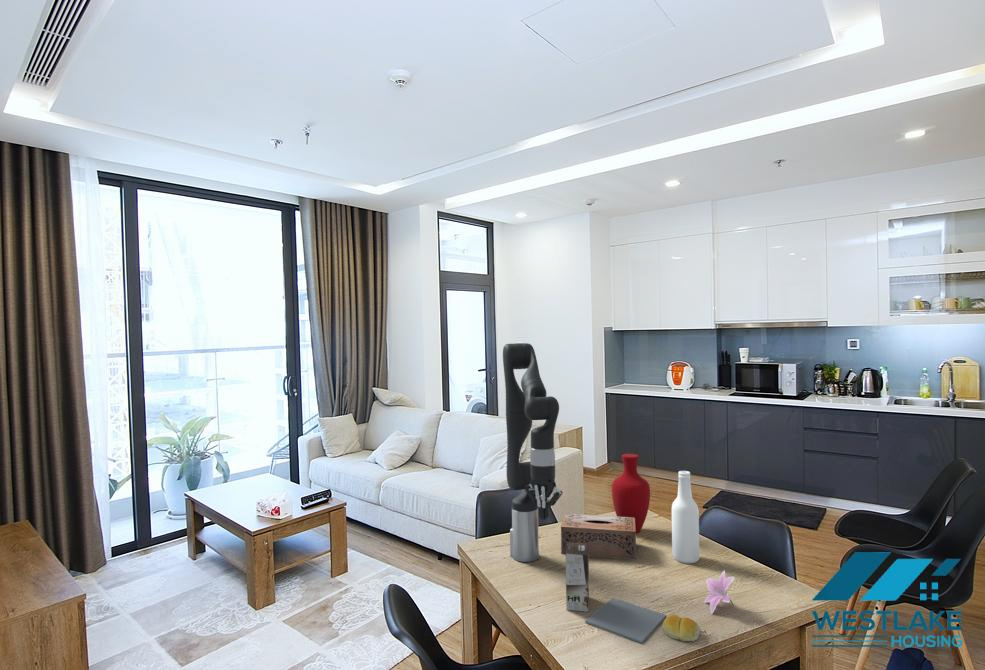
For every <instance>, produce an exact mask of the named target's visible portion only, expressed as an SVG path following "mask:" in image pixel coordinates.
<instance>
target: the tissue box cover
mask: <svg viewBox="0 0 985 670" xmlns="http://www.w3.org/2000/svg"><path fill="white" fill-rule="evenodd" d="M560 537H561V538H560V543H561V544H560V546H561V550H560V551H561V552H560V553H561V555H566V547H567V542H571V543H588V557H595V558H596V557H598V558H607V559H609V558H610V559H611V558H612V559H621V560H622V559H623V560H634V561H637V533H636V529H635V518H634V517H618V516H617V515H615V516H614V515H601V514H600V515H599V514H597V515H596V514H586V513H585V514H583V513H566V512H565V513H564V515H563V519H562V522H561V526H560Z"/></svg>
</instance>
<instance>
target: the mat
mask: <svg viewBox="0 0 985 670" xmlns="http://www.w3.org/2000/svg"><path fill="white" fill-rule="evenodd" d="M666 618H667V615H666V614H664V613H661V612H658V611H655V610H651V609H649V608H646V607H642V606H640V605H636V604H634V603H630V602H627V601H624V600H621V599H619V598H615V597H611V598H610V599H609V600H608V601H607V602H605V604H603V605H602V606H601V607H600V608H599V609H597V610H596V611H595V612H594V613H593V614H591V615H590V616H589V617H588V618H587V619H586V620H585V624H588V625H590V626H592V627H596V628H599V629H600V630H603V631H606V632H609V633H612V634H614V635H617V636H620V637H622V638H625V639H627V640H631V641H633V642H635V643H638V644H641V645H643V643H644V642H646V640H647V639H648V637H650V636H651V634H652V633H653V632H654V631H656V629H657V628H658V626H659V625H660V624H661V623H662V622H664V620H665V619H666Z"/></svg>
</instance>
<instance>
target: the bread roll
mask: <svg viewBox="0 0 985 670" xmlns="http://www.w3.org/2000/svg"><path fill="white" fill-rule="evenodd" d="M662 622H663V623H662V629H663V631H664V632H665V634H666V635H667V636H668V637H670V638H671V639H674V640H680V641H681V642H685V641H692V642H696V641H697V640H698V638H699V637H700V634H701V627H700V626H699V624H698V622H696V621H695V620H694V619H692V618H690V617H681V616H679V615H677V614H671V615H668V616H666V618H665V619H664V620H663V621H662ZM695 640H696V641H695Z"/></svg>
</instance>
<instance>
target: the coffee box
mask: <svg viewBox="0 0 985 670" xmlns="http://www.w3.org/2000/svg"><path fill="white" fill-rule="evenodd" d="M589 569H590V568H589V556H588V543H571V542H567V547H566V554H565V591H566V592H565V597H566V598H565V599H566V600H565V601H566V602H565V603H566V607H565V609H566V610H567V611H576V612H586V613H587V612H589V604H590V603H589V602H590V573H589V572H590V570H589Z"/></svg>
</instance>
